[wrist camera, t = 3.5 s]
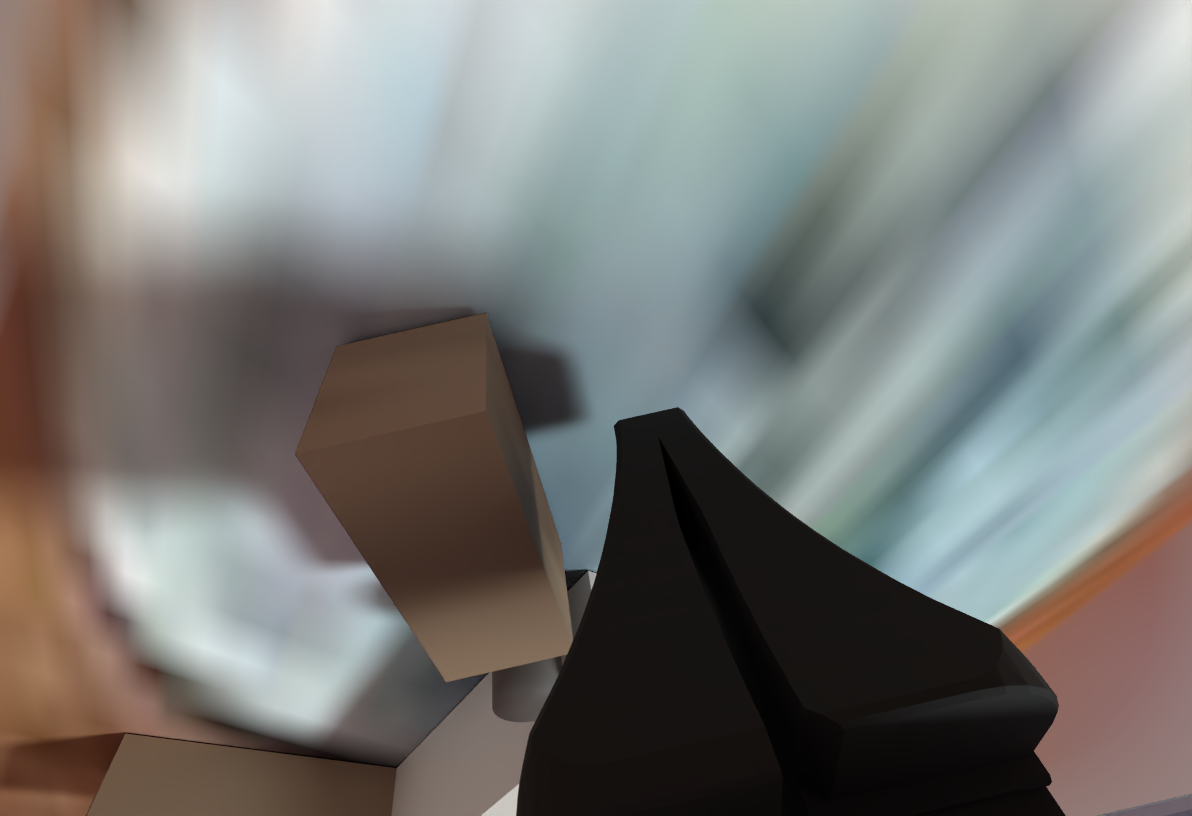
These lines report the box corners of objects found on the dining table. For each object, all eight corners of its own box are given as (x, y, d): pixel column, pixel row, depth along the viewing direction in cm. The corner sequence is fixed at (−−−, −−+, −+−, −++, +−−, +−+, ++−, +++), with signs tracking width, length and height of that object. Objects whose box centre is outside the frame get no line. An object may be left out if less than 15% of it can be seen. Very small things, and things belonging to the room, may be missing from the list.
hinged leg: (579, 600, 18) (594, 707, 15) (481, 623, 18) (480, 733, 15) (486, 312, 12) (485, 410, 9) (336, 346, 12) (295, 453, 9)
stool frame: (396, 819, 26) (383, 940, 23) (95, 793, 21) (25, 942, 18) (641, 587, 18) (673, 720, 15) (260, 462, 13) (190, 619, 10)
